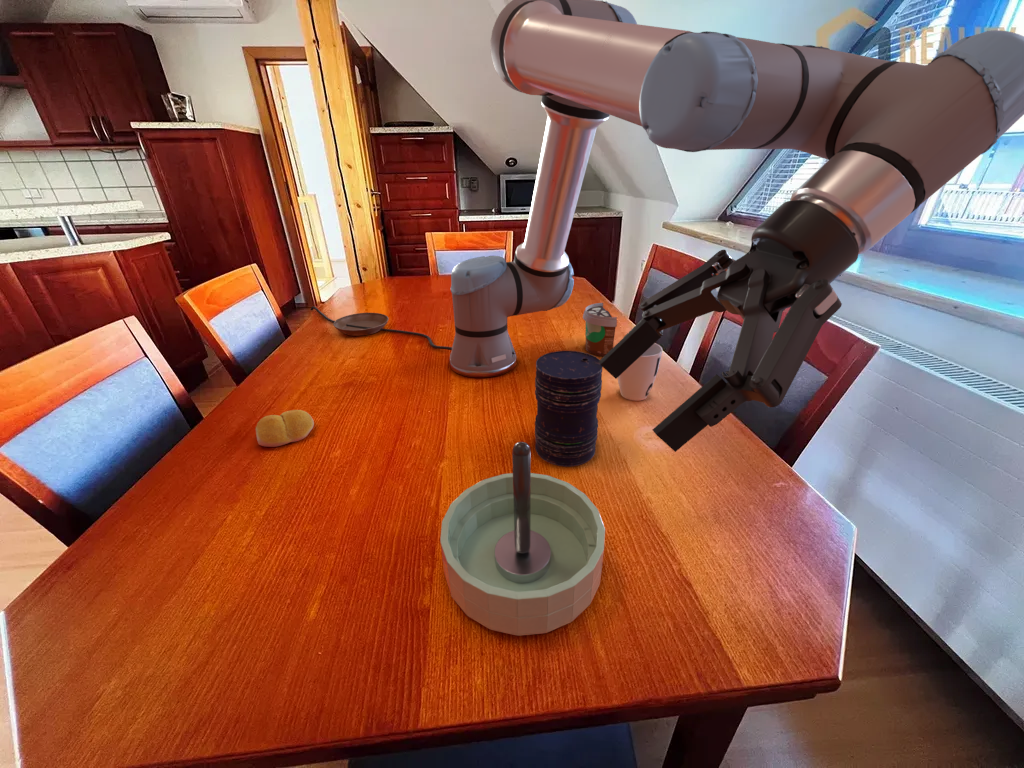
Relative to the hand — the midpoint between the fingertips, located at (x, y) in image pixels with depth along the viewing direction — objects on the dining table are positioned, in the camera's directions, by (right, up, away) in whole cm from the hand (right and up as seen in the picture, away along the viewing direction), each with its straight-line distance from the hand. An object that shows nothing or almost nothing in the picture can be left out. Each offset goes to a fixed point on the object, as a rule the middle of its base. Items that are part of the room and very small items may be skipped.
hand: (630, 400), depth 40 cm
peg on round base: (-10, -19, +8) cm, 23 cm away
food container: (+9, +10, +64) cm, 65 cm away
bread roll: (-51, -7, +33) cm, 61 cm away
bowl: (-10, -19, +8) cm, 23 cm away
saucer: (-54, +17, +80) cm, 98 cm away
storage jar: (-3, -9, +28) cm, 29 cm away
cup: (+13, -1, +43) cm, 45 cm away
